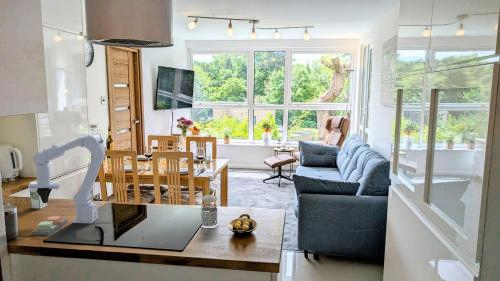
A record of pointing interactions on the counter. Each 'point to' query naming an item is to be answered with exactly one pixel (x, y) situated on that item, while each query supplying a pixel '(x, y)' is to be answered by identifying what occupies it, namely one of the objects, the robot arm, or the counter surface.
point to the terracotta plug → (54, 219)
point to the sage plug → (45, 225)
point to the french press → (209, 209)
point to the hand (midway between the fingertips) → (45, 202)
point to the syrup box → (36, 198)
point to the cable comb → (51, 228)
